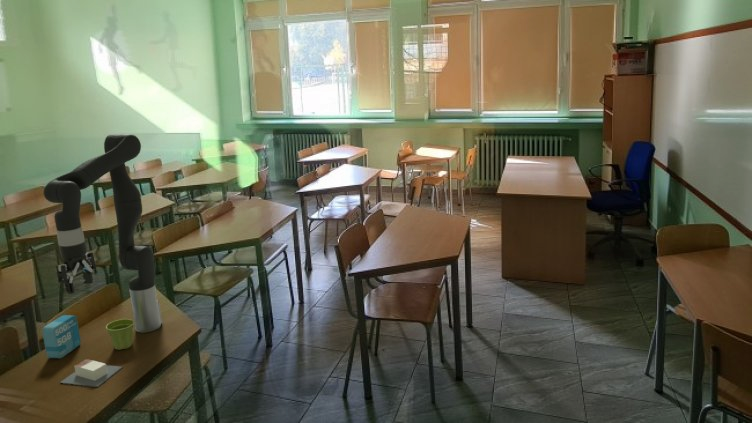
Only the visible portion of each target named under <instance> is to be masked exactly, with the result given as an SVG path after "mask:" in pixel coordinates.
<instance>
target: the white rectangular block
mask: <svg viewBox="0 0 752 423" xmlns="http://www.w3.org/2000/svg"><path fill="white" fill-rule="evenodd" d="M106 365H107V364H106V363H104V362H100V361H96V360H93V359H89V358H86V359H84V360H82V361H81V362H79V363H77V364H75V365H74V367H73V368H74V372H76V375H77V376H80V377H84V378H87V379H90V380H94V381H95V380H97V379H99V378H101V377H102V376H104V375H106V374H108V373H107V367H106Z"/></svg>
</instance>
